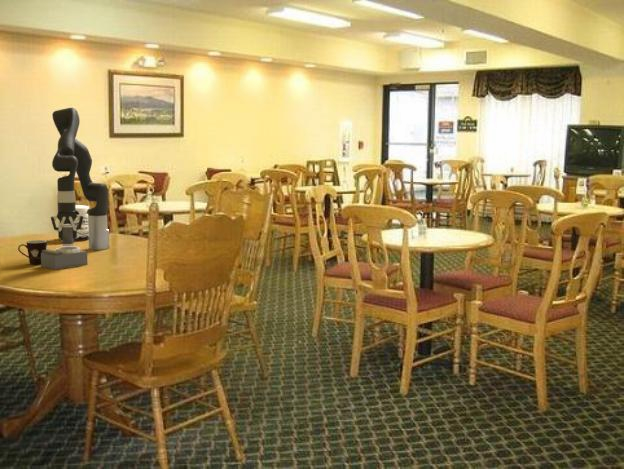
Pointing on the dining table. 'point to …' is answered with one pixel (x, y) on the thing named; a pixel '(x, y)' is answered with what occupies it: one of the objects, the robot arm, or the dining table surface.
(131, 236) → the dining table surface
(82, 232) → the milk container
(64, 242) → the lens
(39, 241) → the coffee mug
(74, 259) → the camera body
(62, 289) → the dining table surface
